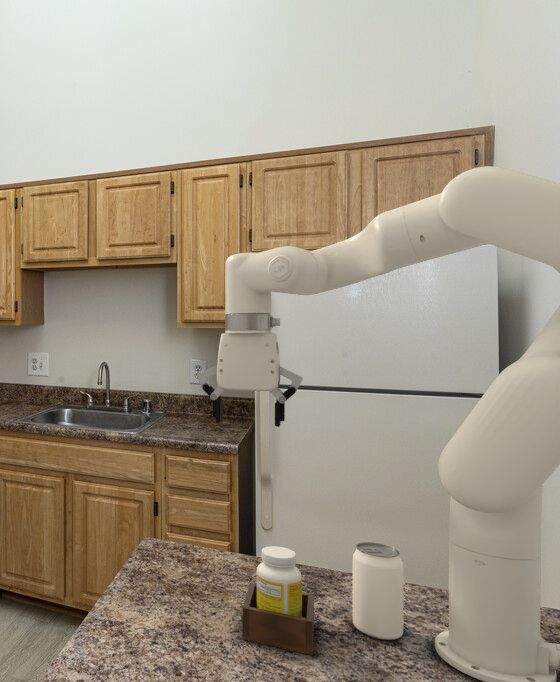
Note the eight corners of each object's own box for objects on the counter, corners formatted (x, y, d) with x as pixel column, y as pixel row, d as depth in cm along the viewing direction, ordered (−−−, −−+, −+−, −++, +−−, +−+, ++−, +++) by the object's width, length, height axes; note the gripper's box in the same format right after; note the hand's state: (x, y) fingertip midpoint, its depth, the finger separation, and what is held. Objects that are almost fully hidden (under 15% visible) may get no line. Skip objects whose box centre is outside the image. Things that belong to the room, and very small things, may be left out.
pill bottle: (293, 616, 85) (293, 544, 85) (308, 638, 79) (308, 560, 79) (251, 615, 86) (251, 543, 86) (263, 636, 80) (263, 559, 79)
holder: (313, 624, 84) (313, 594, 84) (312, 655, 76) (312, 621, 76) (250, 611, 88) (250, 582, 88) (242, 639, 80) (242, 607, 80)
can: (411, 643, 79) (411, 559, 79) (361, 639, 80) (361, 555, 80) (392, 620, 85) (392, 542, 85) (346, 616, 87) (346, 539, 87)
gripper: (303, 325, 97) (303, 424, 97) (201, 326, 104) (201, 417, 104) (301, 324, 90) (301, 430, 90) (192, 325, 98) (193, 423, 98)
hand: (247, 423), depth 97 cm, fingers open, 9 cm apart
